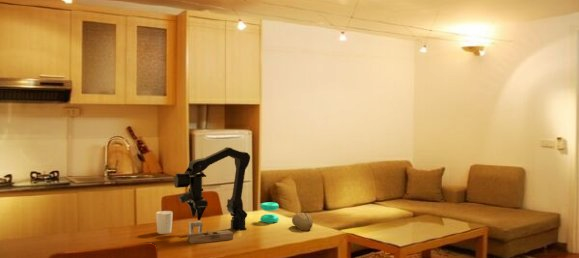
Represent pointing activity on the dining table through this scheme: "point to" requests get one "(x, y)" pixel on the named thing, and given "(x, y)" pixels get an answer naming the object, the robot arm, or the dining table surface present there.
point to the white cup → (164, 222)
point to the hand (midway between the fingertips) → (196, 218)
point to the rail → (210, 236)
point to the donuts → (269, 217)
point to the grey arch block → (195, 224)
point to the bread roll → (302, 221)
